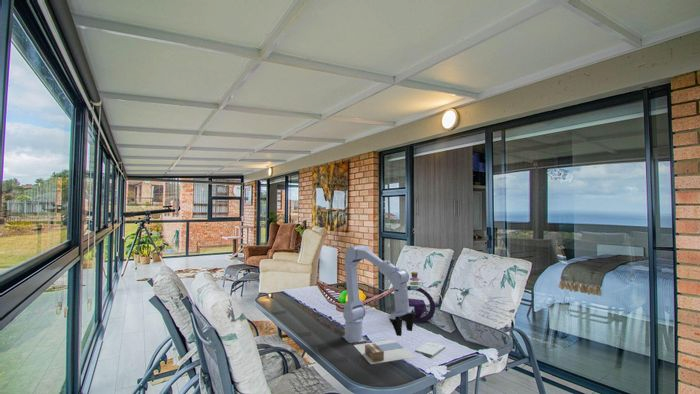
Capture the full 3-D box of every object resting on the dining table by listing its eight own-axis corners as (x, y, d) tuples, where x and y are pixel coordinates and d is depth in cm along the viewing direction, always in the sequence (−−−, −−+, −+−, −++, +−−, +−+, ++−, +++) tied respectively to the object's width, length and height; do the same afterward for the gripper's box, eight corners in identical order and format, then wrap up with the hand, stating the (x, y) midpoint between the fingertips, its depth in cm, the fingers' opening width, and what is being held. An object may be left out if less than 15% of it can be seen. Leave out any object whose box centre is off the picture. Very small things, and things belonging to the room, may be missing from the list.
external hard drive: (414, 353, 155) (428, 344, 164) (432, 358, 149) (445, 349, 159) (414, 349, 155) (428, 341, 164) (432, 355, 149) (445, 345, 159)
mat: (353, 346, 161) (353, 344, 161) (394, 340, 168) (394, 339, 168) (370, 365, 142) (370, 364, 142) (415, 358, 149) (415, 356, 149)
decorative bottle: (393, 322, 193) (393, 275, 194) (395, 310, 214) (395, 268, 214) (436, 324, 189) (436, 276, 190) (434, 312, 210) (434, 269, 210)
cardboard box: (365, 353, 153) (365, 344, 153) (374, 351, 154) (374, 343, 154) (373, 362, 144) (373, 352, 144) (383, 360, 146) (383, 351, 146)
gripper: (398, 304, 143) (401, 339, 142) (419, 297, 153) (422, 329, 152) (384, 302, 148) (387, 336, 147) (405, 295, 158) (408, 327, 157)
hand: (404, 333), depth 150 cm, fingers open, 7 cm apart
